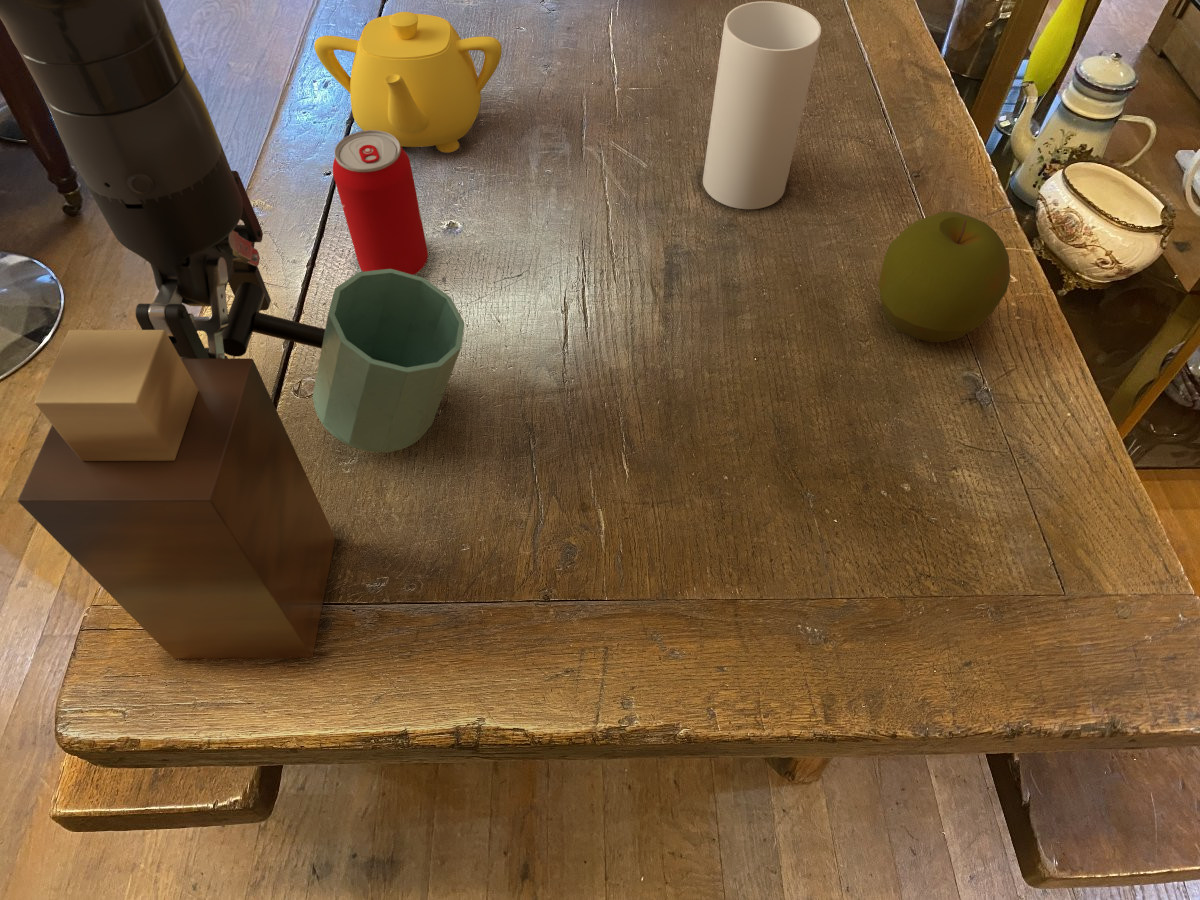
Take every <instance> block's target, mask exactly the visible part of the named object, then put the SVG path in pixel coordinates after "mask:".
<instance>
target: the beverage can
mask: <svg viewBox="0 0 1200 900" xmlns="http://www.w3.org/2000/svg"><path fill="white" fill-rule="evenodd" d="M332 175H333V178H334V182H335V186H336V189H337V193H338V196H339V199H340V204H341V207H342V210H343V214H344V217H345V222H346V224H347V228H348V232H349V235H350V239H351V243H352V245H353V249H354V253H355V255H356V260H357V263H358V266H359V268H360V270H361V272H365V271H374V270H384V269H394V270H397V271H401V272H404V273H408V274H411V275H415V276H416V275H417V274H418V273H419V272H420V271H421V270H422V269H423V268H424V267H425V266H426V264H427V262H428V259H429V251H428V246H427V241H426V236H425V231H424V226H423V220H422V215H421V211H420V210H421V209H420V205H419V201H418V196H417V195H418V194H417V190H416V184H415V179H414V175H413V169H412V164H411V160H410V158H409V155H408V154H407V153H406V151H405V149H403V147H401V146H400V143H399V141H398V140H397V139H396V138H395V137H394V136H393V135H391V134H389V133H387V132H383V131H378V130H366V131H363V130H360V131H356V132H354V133H351V134H349V135H347V136H345V137H344V138H342V139H341V140H340V141H338V143H337V145H336V146H335V147H334V159H333V164H332Z"/></svg>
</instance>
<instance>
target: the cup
mask: <svg viewBox="0 0 1200 900" xmlns="http://www.w3.org/2000/svg"><path fill="white" fill-rule="evenodd" d="M722 29H723V30H722V38H721V43H720V44H721V45H720V52H719V58H718V60H719V61H718V66H717V73H716V81H715V87H714V95H713V103H712V110H711V115H710V116H711V117H710V123H709V131H708V136H707V137H708V138H707V144H706V145H707V146H706V152H705V161H704V168H703V173H702V174H703V175H702V185H703V188H704V190H705V192H706V193H707V194H708V195H709V197H711V198H712V199H713V200H714V201H716V202H718V203H720V204H722V205H725V206H727V207H730V208H734V209H740V210H759V209H763V208H766V207H770V206H772V205H774V204H775V203H777V202H778V201H780V199H781V198H782V197H783V196H784V193H785V191H786V186H787V182H788V178H789V173H790V169H791V166H792V165H791V164H792V160H793V155H794V152H795V147H796V144H797V140H798V139H797V138H798V134H799V130H800V126H801V122H802V117H803V114H804V113H803V112H804V109H805V105H806V100H807V96H808V92H809V87H810V83H811V80H812V79H811V78H812V75H813V69H814V66H815V60H816V57H817V54H818V53H817V52H818V49H819V43H820V40H821V34H822V26H821V24H820V22H819V20H818V19H817V18H816V17H815V15H813V14H811V13H810V12H809V11H807V10H805V9H803V8H801V7H799V6H796V5H793V4H790V3H785V2H780V1H774V0H773V1H771V0H763V1H762V0H760V1H752V2H746V3H743V4H741V5H738V6H736V7H733V8H732V9H731V10H730V11H729V12H728V13H727V15H726V17H725V18H724V23H723V28H722Z"/></svg>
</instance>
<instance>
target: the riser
mask: <svg viewBox="0 0 1200 900" xmlns="http://www.w3.org/2000/svg"><path fill="white" fill-rule="evenodd" d="M181 360H182V362H183V364H184V365H185V367H186V369H187V371H188V372H189V374H190V376H191V378H192V380H193V381H194V383H195V385H196V387H197V388H198V393H197V396H196V399H195V402H194V405H193V408H192V411H191V414H190V417H189V420H188V423H187V426H186V429H185V432H184V435H183V438H182V441H181V444H180V447H179V450H178V452H177V455H176V458H175V460H174V461H82V460H81V459H80V458H79V457H78V456H77V455H76V453H75V452H74V451H73V450H72V448H71V447H70V446H69V445H68V444H67V442H66V441H65V440H64V439H63V437H62V436H61V435H60V434H59V433H58V431H57V430H56V429H55V428H54V426H53V425H52V424H51V426H50V428H49V430H48V433H47V435H46V436H45V438H44V441H43V443H42V446H41V448H40V450H39V452H38V454H37V457H36V459H35V461H34V463H33V465H32V468H31V470H30V472H29V474H28V477H27V479H26V480H25V483H24V485H23V487H22V490H21V492H20V493H19V496H18V498H17V502H18V503H19V504H20V505H21V506H22V507H23V508H24V509H25V510H26V511H27V512H28V514H30V516H31V517H32V518H34V520H35V521H36V522H37V523H39V524H40V526H41V527H42V528H43V529H44V530H45V531H46V532H47V533H48V534H49V535H50V536H51V537H52V538H53V539H54V540H55V541H56V542H57V543H58V544H59V545H60V546H61V547H62V548H63V549H64V550H65V551H66V552H67V553H68V554H69V555H70V556H71V557H72V558H73V559H74V560H75V561H76V562H77V563H78V564H79V565H80V566H81V567H82V568H83V569H84V570H85V571H86V572H87V573H88V574H89V575H90V576H91V577H92V578H93V579H94V580H95V581H96V582H97V583H98V584H99V585H100V587H102V588H103V590H105V592H107V593H108V595H110V596H111V597H112V598H113V599H114V600H115V602H117V604H119V605H120V607H122V609H123V610H124V611H125V612H127V614H129V615H130V617H131V618H132V619H134V621H135V622H136V623H138V625H140V627H141V628H142V629H143V630H144V631H145V632H147V634H148V635H149V636H150V638H152V639H153V640H154V641H155V642H156V643H157V644H158V645H159V646H160V647H161V648H162V649H163V650H164V651H165V652H166V653H167V654H168V655H169V656H170V657H171V658H172V659H174V660H175V659H177V660H178V659H179V660H180V659H182V660H183V659H185V660H186V659H286V658H287V659H294V658H296V659H297V658H298V659H299V658H301V659H303V658H304V659H306V658H311V659H312V658H313V657H314V652H315V648H316V641H317V636H318V631H319V625H320V621H321V615H322V611H323V606H324V605H323V604H324V600H325V595H326V590H327V584H328V579H329V573H330V568H331V563H332V557H333V554H334V548H335V543H336V536H335V534H334V532H333V530H332V527H331V525H330V523H329V521H328V518H327V517H326V514H325V512H324V509H323V507H322V506H321V504H320V502H319V500H318V497H317V495H316V493H315V490H314V489H313V487H312V484H311V482H310V480H309V478H308V476H307V473H306V471H305V468H304V467H303V464H302V462H301V460H300V458H299V456H298V454H297V452H296V450H295V447H294V445H293V443H292V441H291V439H290V437H289V436H290V435H288V432H287V430H286V428H285V425H284V423H283V421H282V418H281V417H280V415H279V413H278V410H277V408H276V406H275V403H274V402H273V400H272V398H271V395H270V393H269V391H268V388H267V386H266V383H264V380H263V378H262V376H261V373H260V371H259V369H258V367H257V365H256V363H255V360H254V359H253V358H228V359H214V358H181Z"/></svg>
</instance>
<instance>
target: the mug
mask: <svg viewBox="0 0 1200 900" xmlns="http://www.w3.org/2000/svg"><path fill="white" fill-rule="evenodd" d="M264 296H265V293H264V290H263V289H262V288H261V287H260V286H259V285H257V284H255V283H252V282H243V283H241V284H240V285H239V286H238V289H237V291H236V294H235V296H233V300H232V303H231V306H230V308H229V311H228V319H229V324H228V326H227V328H225V329H223V331H222V335H223V344H224V353H225V355H226V356H231V357H242V356H244V355H245V354H246V353H247V350H248V347H249V344H250V342H251V338H252V335H253V333H256V334H260V335H264V336H268V337H272V338H276V339H281V340H285V341H287V342H288V341H289V342H292V343H297V344H301V345H304V346H305V345H306V346H309V347H313V348H317V349H321V350H320V354H319V355H320V356H319V359H318V366H317V371H316V377H315V380H314V387H313V390H312V391H313V392H312V401H313V407H314V410H315V413H316V416H317V418H318V419H319V421H320V423H321V424H322V426H323V427H324V428H325V430H326V431H327V432H328V433H329V434H330V435H332V436H333V437H334V438H336V439H337V440H338V441H340V442H342V443H343V444H345V445H347V446H349V447H351V448H354V449H357V450H361V451H364V452H371V453H391V452H396V451H400V450H403V449H406V448H409V447H410V446H412V445H414V444H415V443H417V442H418V441H419V440H420V439H422V437H423V436H424V435H425V434H426V433H427V431H428V430H429V429H430V428H431V427H432V426H433V422H434V420H435V417H436V414H437V413H438V410H439V408H440V405H441V402H442V399H443V396H444V394H445V393H446V392H445V391H446V389H447V387H448V384H449V381H450V379H451V375H452V373H453V371H454V368H455V365H456V363H457V360H458V357H459V355H460V352H461V350H462V346H463V340H464V339H463V338H464V331H465V321H464V319H463V317H462V316H461V314H460V312H459V309H458V307H457V306H456V305H455V303H454V301H453V299H452V297H451V296H449V295H448V294H447V293H445V292H444V291H443V290H442V289H440V288H438V287H437V286H436V285H435V284H433V283H432V282H430V281H429V280H427V278H425V277H423V276H419V275H416V274H415V275H411V274H408V273H404V272H401V271H397V270H394V269H384V270H374V271H365V272H363V271H359V272H356V273H355V274H353V275H352V276H350V277H349V278H347V279H346V280H345V281H343V282H342V283H341V284H339V285H338V286H336V287H335V288H334V290H333V294H332V298H331V302H330V305H329V309H328V313H327V317H326V324H325V328H323V327H318V326H315V325H310V324H306V323H302V322H298V321H294V320H292V319H291V320H290V319H286V318H283V317H279V316H274V315H270V314H266V313H263V312H261V310H260V308H261V305H262V302H263V299H264Z"/></svg>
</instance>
